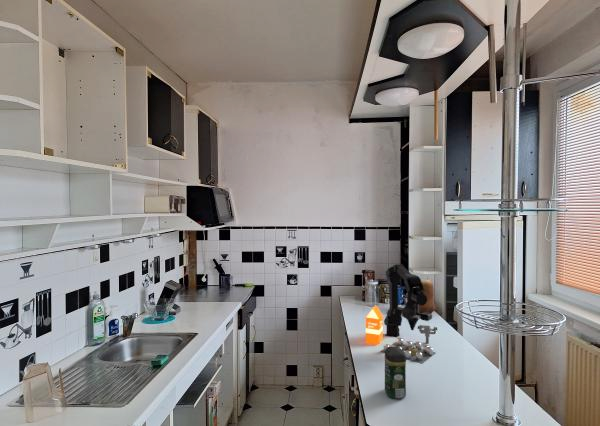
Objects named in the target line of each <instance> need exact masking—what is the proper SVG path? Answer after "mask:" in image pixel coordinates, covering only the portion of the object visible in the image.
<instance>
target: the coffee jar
mask: <svg viewBox="0 0 600 426" xmlns="http://www.w3.org/2000/svg"><path fill="white" fill-rule="evenodd" d="M406 364H407V360H406V355H405V353H404V352H403V351H402V350H401V349H400V348H398V347H388V348H386V349H385V353H384V391H385V394H386V395H387V397H389V398H391V399H395V400H396V399H397V400H401V399H404V398H406V396H407V394H406V393H407V387H406V386H407V385H406V379H407V377H406V376H407V375H406V370H407V368H406Z"/></svg>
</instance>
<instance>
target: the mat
mask: <svg viewBox="0 0 600 426" xmlns="http://www.w3.org/2000/svg"><path fill="white" fill-rule="evenodd" d="M389 345H390V347H396V346H398V345H397V342H396V341H395V342H393V343H391V344H389ZM401 347H402V351H403V352H404V353H405V351H406V350H408V349H406V344H404V343H403V346H401ZM414 347H415V348H416V346H414ZM418 352H422V361H417V360H416V355H411V359H410V360H408V359H406V361H409V362H414V363H418V364H419V365H420V364H422V365H423V364H424V363H425V362H426V361H429V359H430V358H431V357H433V356H435V354H437V352H436V351H433V356H428V355H427V354H425V353H423V348H421V350H418ZM379 353H383V354H385V353H384V348H383V349H382V350H380V351H379Z"/></svg>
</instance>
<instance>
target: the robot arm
mask: <svg viewBox="0 0 600 426" xmlns="http://www.w3.org/2000/svg"><path fill="white" fill-rule="evenodd" d="M385 277H386V280H387V282H388V283H389V308H388V310H387V311H386V316H385V318H384V319H383V325H385V326H386V333H385V334H384V336H385V337H390V338H399V336H400V335H401V334H400V328H399V327H401V326H402V321H403V318H405V319H406V320H407V322H408V324H409V328H410V330H411V331H415V328H416V325H417V323H418V321H419V320H421V321H425V322H429V321H430V320H432V319H433V315H432V313H427V312H423V313H419V310H418V305H421V306H422V305H425V304H426V302H427V297H426V295H424V294H423V293H424V292H423V291H424V289H423V288H424V287H423V284H422V282H421V280H422V279H421V278H420V277H419V276H418V275H417V274H414V273H411V272H410V271H409V270H408V269H407V268H406V267H405V265H404V264H402V263H401V264H400V263H399V264H393V266H391V267H389V268H387V269H386V271H385ZM402 279H403V281H404V285H405V287H406V288H405V290H406V302H405V306H404V307H401V306H399V283H400V282H401V280H402ZM416 287H419V288H416ZM402 317H403V318H402Z"/></svg>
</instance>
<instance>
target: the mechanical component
mask: <svg viewBox="0 0 600 426" xmlns="http://www.w3.org/2000/svg"><path fill="white" fill-rule="evenodd" d="M417 330H418V331H419V333H420V334H422V335H423V334H424V337H425V345H428V344H430V343H429V341H430V338H429V337H430V336H431V335H436V332H437V331H438V327H436V326H433V328H431V326H430V325H425V324H424V325H420V324H419V325H417Z"/></svg>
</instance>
